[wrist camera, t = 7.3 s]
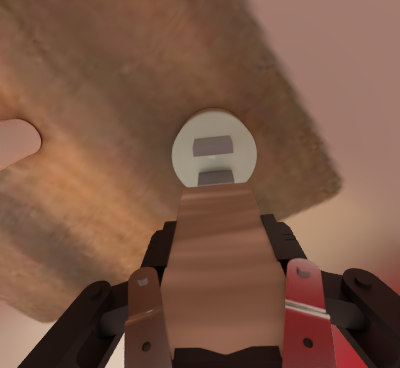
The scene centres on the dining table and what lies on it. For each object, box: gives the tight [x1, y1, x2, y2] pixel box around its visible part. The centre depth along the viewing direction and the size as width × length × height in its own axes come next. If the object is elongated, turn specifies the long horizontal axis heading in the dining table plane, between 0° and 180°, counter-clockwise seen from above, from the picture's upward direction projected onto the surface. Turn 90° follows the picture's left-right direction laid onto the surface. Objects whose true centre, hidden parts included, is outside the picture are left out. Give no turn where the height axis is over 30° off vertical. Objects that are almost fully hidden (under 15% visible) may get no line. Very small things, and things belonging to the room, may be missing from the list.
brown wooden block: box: [160, 182, 286, 360], centre depth 12 cm, size 2×5×12 cm, turn 97°
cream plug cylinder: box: [172, 108, 257, 187], centre depth 27 cm, size 10×10×10 cm
